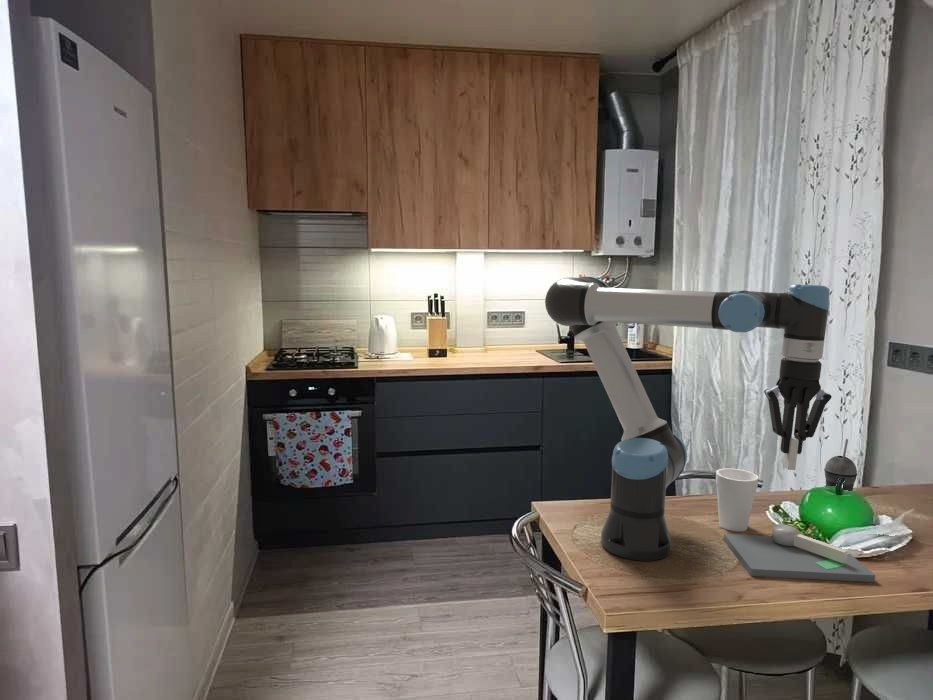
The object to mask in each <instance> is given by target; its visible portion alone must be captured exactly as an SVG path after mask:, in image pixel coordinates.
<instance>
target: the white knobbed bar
mask: <svg viewBox="0 0 933 700" xmlns="http://www.w3.org/2000/svg"><path fill="white" fill-rule="evenodd" d="M771 533H772V534H771V536H772V540H773V541H774V542H776V543H779V544H782V545H787V546H796V547H799V548H802V549H804V550H807V551H810V552H813V553H815V554H818V555H821V556H824V557H827V558H829V559H832V560H835V561H838V562H840V563H845V562H847V552H849V550H848V549H845V548H844V549H842V548H839V547H836V546H833V545H830V544H827V543H824V542H822V541H819V540H816V539H813V538H814V537H810V536H807V535H803V534H800V533H799V530H798V529H797V528H796V527H794V526H791V525H788V524H781V523H780V524H779V523H777V524H774V525H772V532H771Z"/></svg>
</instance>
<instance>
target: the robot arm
mask: <svg viewBox="0 0 933 700" xmlns="http://www.w3.org/2000/svg"><path fill="white" fill-rule="evenodd" d="M829 302H830V289H829V288H828V287H827V286H826V285H821V284H795V283H792V284H791V285H790V286H789V287H788V290H787V292H780V293H779V292H767V291H754V290H753V291H752V290H750V291H749V290H730V291H729V292H728V291H727V292H726V291H723V292H721V291H720V292H719V291H702V290H701V291H699V290H698V291H697V290H676V289H675V290H674V289H673V290H672V289H651V288H650V289H647V288H621V287H620V288H619V287H610V286H609V284H608V283H606V282H605V281H603V280H602V279H599V278H597V277H593V276H581V277H572V276H571V277H563V278H560V279H559V280H557V281H555V282H554V283H552V285H551V286H550V287H549V289H548V290H547V292H546V294H545V300H544V304H545V309H546V312H547V314H548V316H549V317H550V318H551V319H552V320H553V321H554V322H555V323H557V324H559V325H561V326H564V327H569V328H570V330H571V332H572V334H573V336H574V338H575V339H576V340H579V341H582V342H583V344H584V346H585V348H586V350H587V353H588V355H589V357H590V359H591V362H592V364H593V366H594V368H595V370H596V372H597V374H598V376H599V378H600V381H601V383H602V386H603V387H604V390H605V391H606V393H607V396H608V398H609V401H610V403H611V405H612V407H613V410H614V411H615V414H616V416H617V417H618V418H617V419H618V420H619V423H620V425H621V427H622V429H623V434H622V436H621V439H620V440H621V441H619V442H617V443H616V445H615V446H614V449H613V450H612V456H611V480H610V481H611V486H610V487H611V488H610V508H609V513H608V515H607V517H606V520H605V522H604V524H603V527H602V529H601V532H600V533H601V534H600V544H601V546H602V547H603V548H604V549H605V550H606V551H608V552H609V553H611V554H613V555H615V556H617V557H620V558H623V559H627V560H632V561H633V560H634V561H641V562H642V561H644V562H645V561H646V562H647V561H648V562H649V561H656V560H663V559H664V558H666V557H668V556H669V555H670V554H671V549H672V539H671V535H670V533H669V528H668V524H667V521H666V518H665V507H666V494H667V493H666V490H667V488H668V486H669V485H671V484H672V483H673V482H674V481H675V480H676V479H678V478H679V477H680V476H681V474H682V473H683V472H684V469H685V467H686V464H687V461H688V453H687V448H686V445H685V443H684V442H683V440H682V439H681V438H680V437H679V436H678V435H677V434H675V433H673V432H672V430H671V428H670V426H669V424H668V421H667V420H666V419H665V420H664V419H662V418H660V417H658V415H657V413H656V411H655V409H654V407H653V404H652V403H651V400H650V398H649V396H648V394H647V391H646V389H645V387H644V385H643V383H642V381H641V379H640V376H639V375H638V372H637V370H636V368H635V365H634V364H633V362H632V360H631V358H630V355H629V353H628V350H627V349H626V347H625V344H624V342H623V340H622V337H621V335H620V334H619V331H618V329H617V325H618V323H621V324H622V323H623V324H636V325H648V326H649V325H653V326H664V327H665V326H668V327H681V328H683V327H684V328H695V329H696V328H699V329H713V330H714V329H715V330H723V331H724V330H725V331H726V330H727V331H732V332H734V333H747V332H751V331H753V330H754V329H756V328H764V329H765V328H768V329H781V330H782V329H783V339H782V347H781V355H782V357H783V358H781V359H780V367H779V378H778V380H777V381H776V384H775V386H773V387H771V388H769V389H768V388H765V389H764V390H763V393H764V394H765V396H766V398H767V400H768V405H769V406H768V407H769V413H770V420H771V428H772V432H773V433H774V434H776V435H777V436H779V437H781V440H780V441H781V442H780V448H779V449H780V451H781V453H783V459H782V460H783V462H782V467H784V468H785V469H787V470H789V471H796V467H797V466H796V465H797V458H798V455H801V454H802V451H803V445H804V441H805V442H806V440H807V439H808V438H813V437H814V435H815V433H816V431H817V428H818V426H819V423H820V420H821V418H822V415H823V412H824V410H825V408H826V405H827V404H828V403H829V401H830V400H832V397H833V396H832V395H831V394H830V393H827V392H826V391H824V390H823V389H822V387H821V384H820V379H821V373H822V367H823V366H822V362H821V361H820V360H822V359H823V357H824V356H823V354H824V346H825V339H826V338H825V337H826V331H827V322H828V316H829V310H830V309H829V308H830V307H829V305H830V303H829ZM780 395H781V397H782V398H783V415H781V408H780V401H779V399H778V398H779V396H780ZM814 398H815V400H814V401H813V404H812V406H811V408H810V405H811V404H810V402H811V401H812V400H813V399H814ZM809 408H810V412H809V413H808V410H809ZM795 413H796V414H795ZM794 419H795V420H794ZM794 421H795V422H794Z"/></svg>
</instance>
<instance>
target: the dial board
mask: <svg viewBox="0 0 933 700" xmlns="http://www.w3.org/2000/svg"><path fill="white" fill-rule="evenodd" d="M722 540H723V541H724V543H725V544H726V546H727V548H729V549H730V551H731V550H732V551H731V552H732V553H733V555H734V556H735V557H736V558H737V560H738V561H739V562H740V564H741V565H742V566H743V568H744V569H745V571H746V572H747V573H748V574H749V575H750V577H763V576H764V578H765V577H767V578H781V579H782V578H783V579H784V578H789V579H803V580H804V579H808V580H824V581H844V582H858V583H859V582H861V583H862V582H863V583H875V582H876V581H875V579H876V574H875V573H873V572H872V570H870V569H868V568H867V567H866V566H865V565H864V564H863V563H862V562H860V561H859V560H858V559H857V558H856V557H854V556H853V555H852V554H851V553H850V554H847V562H845V563H840V562H838V561H835V560H832V559H829V558H827V557H824V556H821V555H818V554H815V553H813V552H810V551H807V550H804V549H802V548H799V547H796V546H787V545H782V544H779V543H776V542H774V541H773V540H772V535H760V534H739V533H738V534H736V533H723V539H722Z"/></svg>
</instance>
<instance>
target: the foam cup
mask: <svg viewBox="0 0 933 700" xmlns="http://www.w3.org/2000/svg"><path fill="white" fill-rule="evenodd" d="M715 471H716V473H715V483H716V494H717V495H716V499H717V512H718V513H717V514H718V523H719V524H718V525H719V526H720V527H721V528H723V529H725V530H726V531H727V530H728V531H732V532H745V531H747V530H748V527H749V523H750V519H751V514H752V509H753V507H754V506H753V505H754V502H755V497H756V492H757V489H758V485H759V476H758V475H757V474H755V473H754V472H752V471H748V470H745V469H744V470H743V469H738V468H730V467H727V468H720V469H717V470H715Z"/></svg>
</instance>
